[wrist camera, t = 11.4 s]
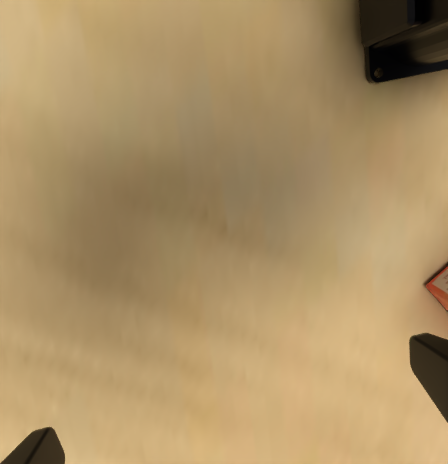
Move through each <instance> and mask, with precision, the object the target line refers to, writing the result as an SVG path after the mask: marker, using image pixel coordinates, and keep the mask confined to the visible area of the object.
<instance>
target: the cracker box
mask: <svg viewBox="0 0 448 464" xmlns="http://www.w3.org/2000/svg"><path fill="white" fill-rule="evenodd" d="M426 288H427V289H428V290H429V291H430V292H431V293H432V294H433V295H434V296H435V297H436V298H437V299H438V301H439V302H440V303H441V304H442V305H443V306H444V308H445V309H446V310H447V311H448V266H447V267H446V268H445V269H444V270H443V271H441V272H440V273H439V274H438V275H437V276H436V277H435V278H434V279H432V280H431V281H430V282H429V283H428V284H426Z"/></svg>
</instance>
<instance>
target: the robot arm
mask: <svg viewBox="0 0 448 464" xmlns="http://www.w3.org/2000/svg"><path fill="white" fill-rule="evenodd" d="M359 8H360V24H361V40H362V44H363V45H364V46H365V62H366V76H367V80H368V81H369V82H370V83H374V84H376V83H381V82H385V81H390V80H395V79H400V78H405V77H410V76H415V75H420V74H425V73H430V72H435V71H440V70H445V69H448V0H359ZM376 69H377V70H378V71H379V76H378V78H377V77H375V74H374V72H375V70H376ZM409 347H410V365H411V368H412V370H413V372H414V374H415V376H416V377H417V378H418V380H419V381H420V383H421V384H422V386H423V387H424V389H425V390H426V392H427V393H428V395H429V396H430V398H431V399H432V401H433V402H434V403H435V405H436V406H437V408H438V409H439V411H440V412H441V414H442V415H443V417H444V418H445V420H446V421H447V422H448V340H447V339H444V338H441V337H438V336H435V335H432V334H429V333H422V334H418V335H414V336H412V337H411V338H410V340H409ZM0 464H65V454H64V450H63V448H62V446H61V443H60V441H59V439H58V437H57V434H56V432H55V430H54V429H53V428H52V427H46V428H42V429H38V430H35V431H33V432H32V433H31V434H29V435H28V436H27V437H26V438H25V439H24V440H23V441H22V442H21V443H20V444H19V445H18V446H17V447H16V448H15V449H14V450H13V451H12V452H11V453H10V454H9V455H8V456H7V457H6V458H5V459H4V460H3V461H2V462H1V463H0Z"/></svg>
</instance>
